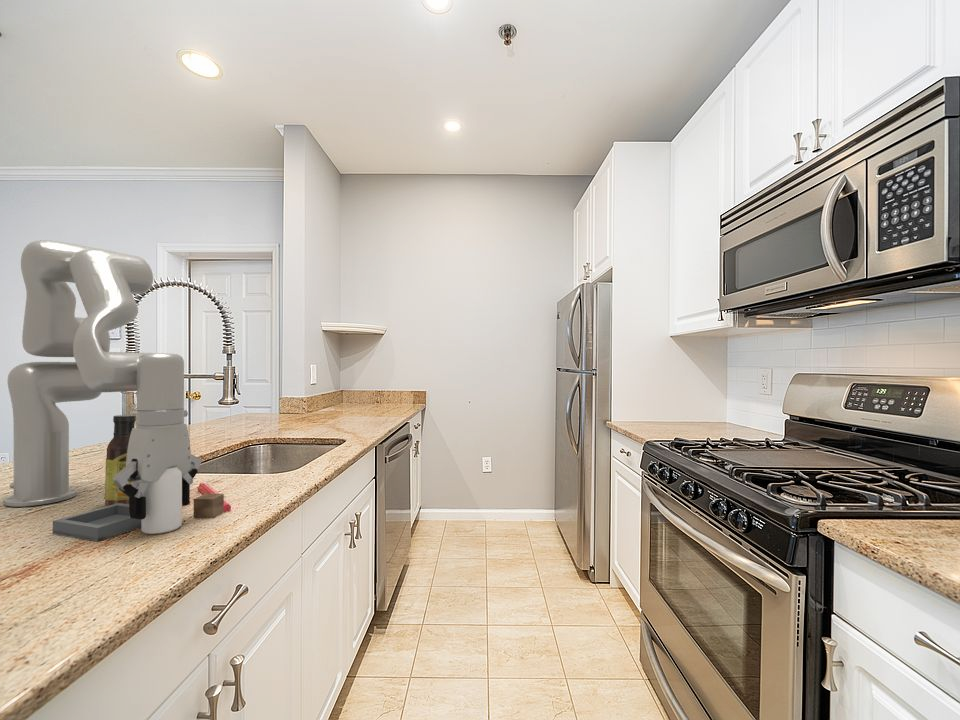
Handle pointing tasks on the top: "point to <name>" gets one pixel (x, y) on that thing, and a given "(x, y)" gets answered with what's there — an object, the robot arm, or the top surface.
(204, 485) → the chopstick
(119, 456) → the sauce bottle
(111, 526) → the tray
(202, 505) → the walnut block
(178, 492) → the can
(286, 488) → the top surface
